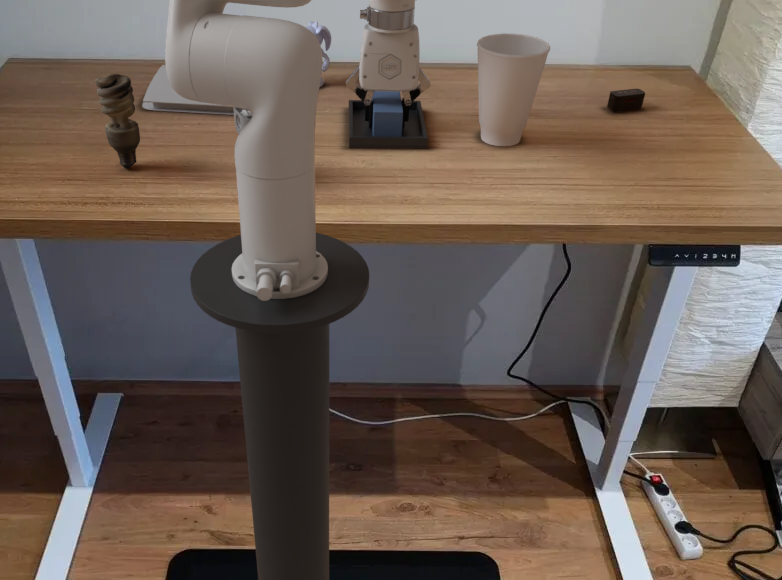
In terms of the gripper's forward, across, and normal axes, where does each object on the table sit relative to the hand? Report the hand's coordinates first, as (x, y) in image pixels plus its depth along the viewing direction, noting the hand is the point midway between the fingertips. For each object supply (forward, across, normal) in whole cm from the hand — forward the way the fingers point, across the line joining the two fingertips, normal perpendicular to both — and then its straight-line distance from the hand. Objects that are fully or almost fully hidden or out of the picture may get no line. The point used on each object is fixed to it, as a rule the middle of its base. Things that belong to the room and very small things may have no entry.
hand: (386, 123), depth 144 cm
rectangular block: (0, 0, 0) cm, 0 cm away
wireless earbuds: (+1, +46, +11) cm, 47 cm away
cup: (+1, +20, -4) cm, 20 cm away
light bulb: (+1, -43, -17) cm, 46 cm away
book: (+1, -34, +14) cm, 37 cm away
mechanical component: (+1, -22, -20) cm, 30 cm away
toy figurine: (+1, -14, +22) cm, 26 cm away
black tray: (+1, 0, 0) cm, 1 cm away
